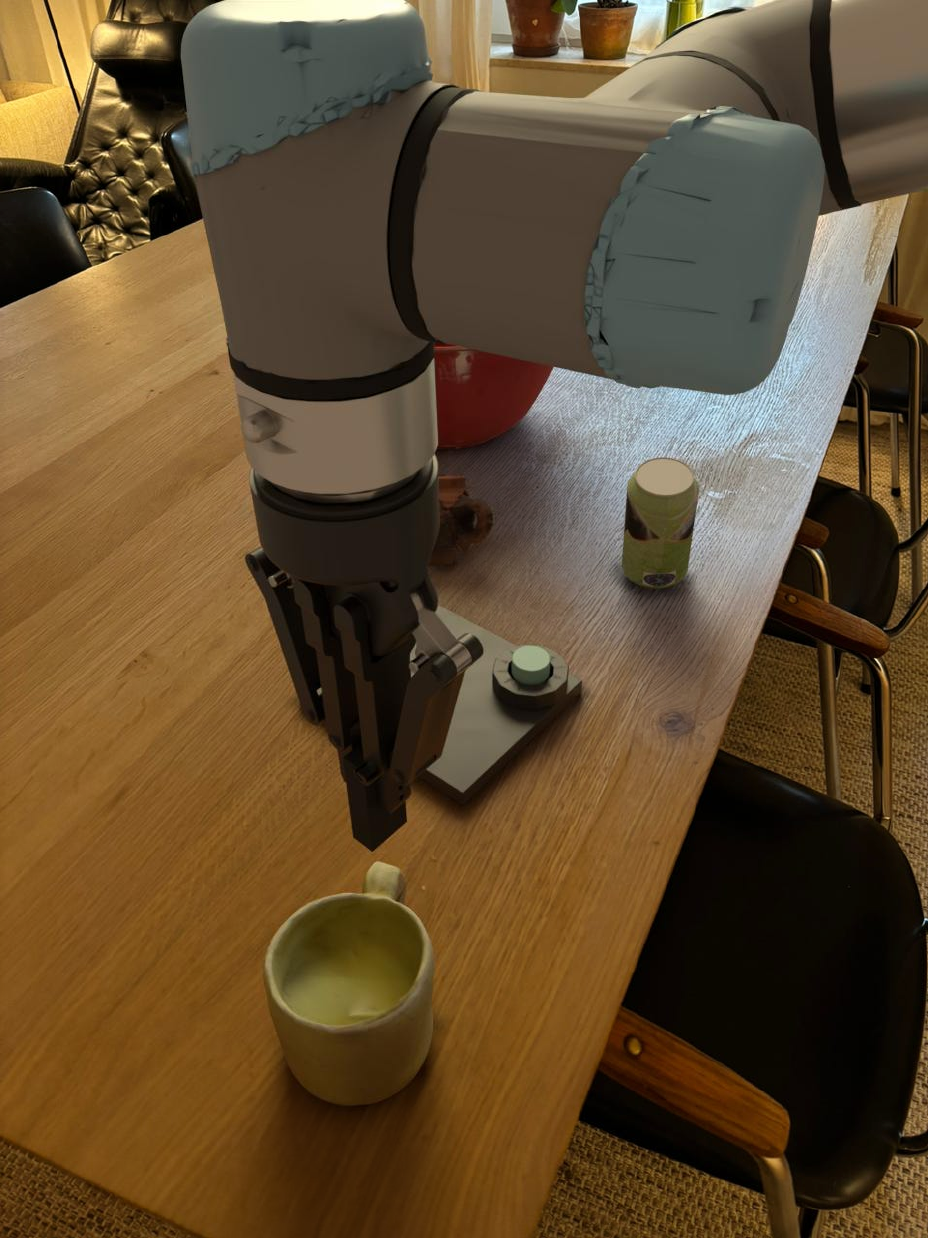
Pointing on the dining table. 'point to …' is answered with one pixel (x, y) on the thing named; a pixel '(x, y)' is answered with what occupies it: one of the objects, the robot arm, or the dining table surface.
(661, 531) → the beverage can
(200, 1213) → the dining table surface
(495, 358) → the mixing bowl
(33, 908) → the dining table surface
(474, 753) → the scale
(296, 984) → the mug
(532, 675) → the power button
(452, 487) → the pottery mug
